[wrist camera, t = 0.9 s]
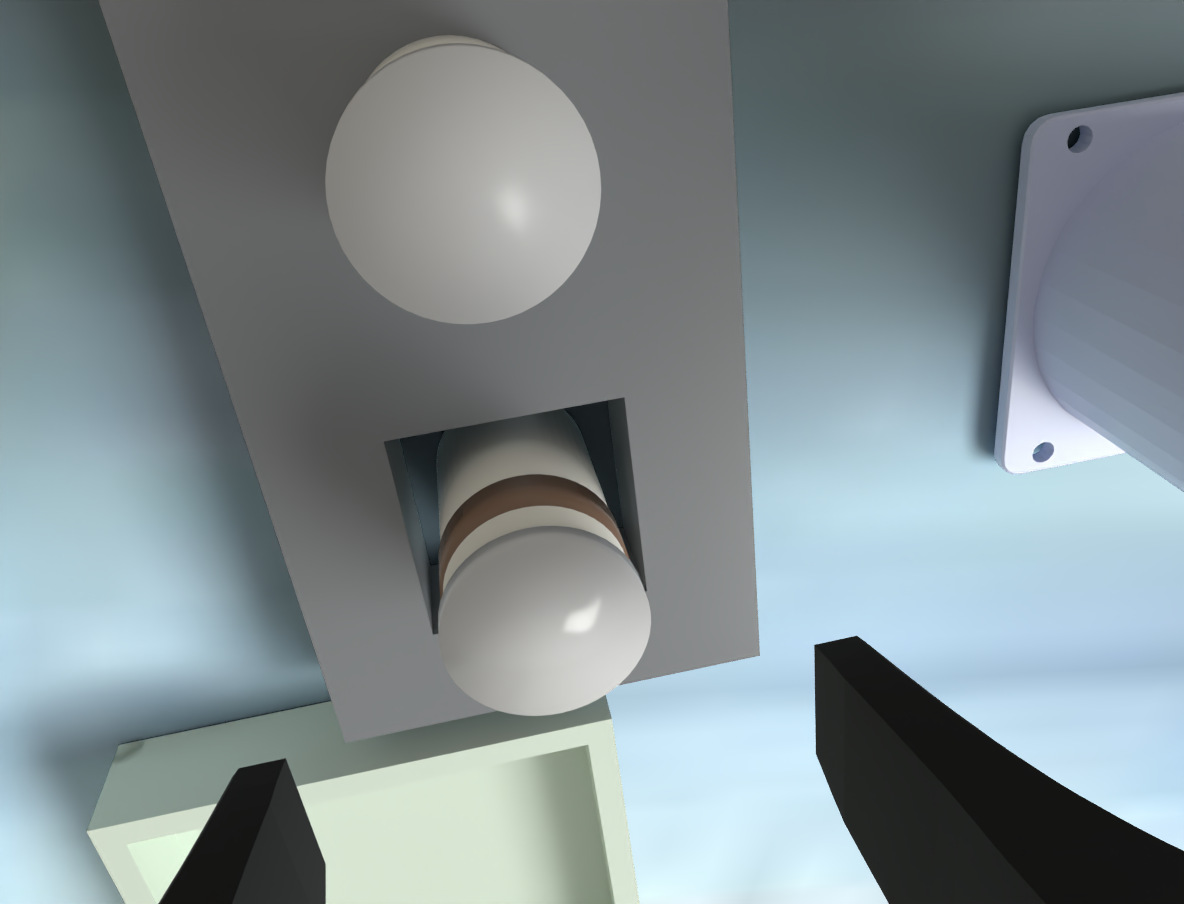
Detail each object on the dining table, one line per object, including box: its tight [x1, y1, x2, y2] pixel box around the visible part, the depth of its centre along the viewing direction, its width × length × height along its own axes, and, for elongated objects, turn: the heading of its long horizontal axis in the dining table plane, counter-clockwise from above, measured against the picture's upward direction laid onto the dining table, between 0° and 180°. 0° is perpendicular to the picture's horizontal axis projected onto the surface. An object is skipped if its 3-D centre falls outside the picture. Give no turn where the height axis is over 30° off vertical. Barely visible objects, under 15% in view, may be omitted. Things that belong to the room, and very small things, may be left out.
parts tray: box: [87, 695, 639, 904], centre depth 24 cm, size 11×10×2 cm
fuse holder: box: [98, 0, 760, 743], centre depth 16 cm, size 9×16×6 cm, turn 7°
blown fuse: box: [437, 409, 651, 716], centre depth 18 cm, size 3×3×6 cm
